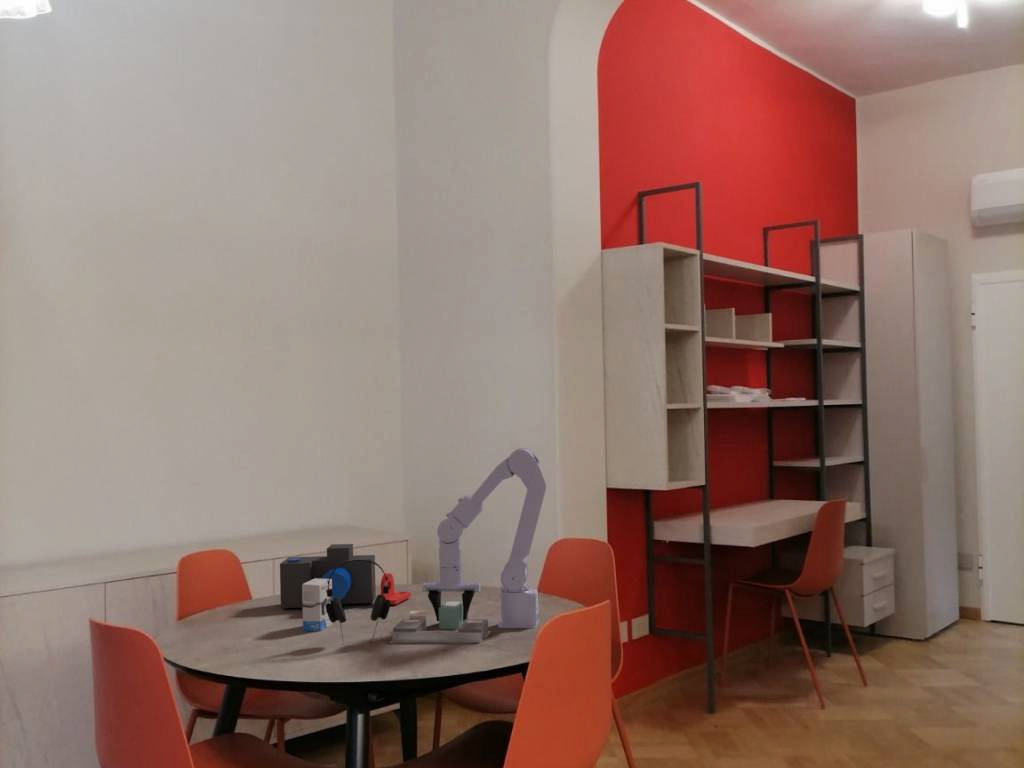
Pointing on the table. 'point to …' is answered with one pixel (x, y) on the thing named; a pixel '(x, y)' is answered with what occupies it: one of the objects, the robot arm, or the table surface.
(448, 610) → the teal module
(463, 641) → the rail
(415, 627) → the mounted modules
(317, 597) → the ink box
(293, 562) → the camera
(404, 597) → the bracket
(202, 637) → the table surface
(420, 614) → the block
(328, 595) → the headphones
